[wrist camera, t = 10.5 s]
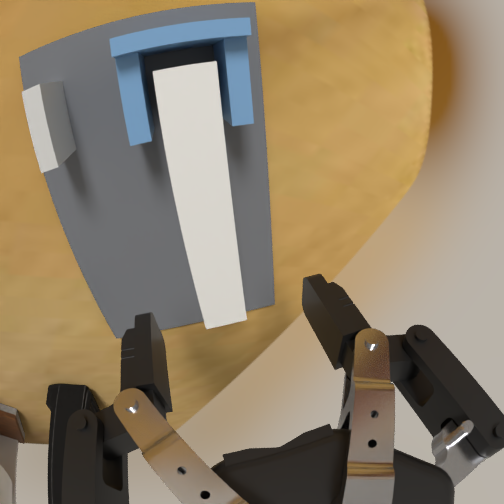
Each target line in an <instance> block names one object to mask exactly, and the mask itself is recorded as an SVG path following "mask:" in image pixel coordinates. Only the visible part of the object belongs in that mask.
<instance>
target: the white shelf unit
mask: <svg viewBox="0 0 504 504" xmlns="http://www.w3.org/2000/svg"><path fill="white" fill-rule="evenodd" d="M24 438H25V433H24V430H23V427H22V424H21V421H20V418H19V415H18V411H17V409H15V408H12V407H9V406H7V405H4V404H1V403H0V504H16V466H17V452H18V442H20V443H23V444H24Z"/></svg>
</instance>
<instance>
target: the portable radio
mask: <svg viewBox="0 0 504 504" xmlns="http://www.w3.org/2000/svg"><path fill="white" fill-rule="evenodd" d="M46 405H47V406H48V407H49V409H50V410H51V419H50V432H49V450H48V504H62V476H63V460H64V449H65V439H66V430H67V423H68V420H69V418H70V416H71V415H72V414H73V413H74V412H76V411H77V410H81V409H87V410H90V411H91V412H93V413H96V412H99V411H100V410H99V408H98V406H97V403H96V401H95V399H94V397H93V395H92V393H91V391H89V389H88V387H86V386H85V385H69V384H54V385H49V387H48V393H47V400H46Z"/></svg>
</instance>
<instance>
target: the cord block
mask: <svg viewBox="0 0 504 504" xmlns="http://www.w3.org/2000/svg"><path fill="white" fill-rule="evenodd" d="M153 78H154V85H155V92H156V99H157V105H158V112H159V118H160V124H161V130H162V136H163V141H164V147H165V153H166V158H167V163H168V169H169V174H170V179H171V184H172V189H173V194H174V199H175V204H176V208H177V213H178V218H179V222H180V227H181V231H182V235H183V240H184V244H185V248H186V253H187V257H188V261H189V265H190V269H191V273H192V277H193V281H194V285H195V289H196V293H197V297H198V301H199V304H200V308H201V312H202V316H203V319H204V323H205V327H206V329H210V328H214V327H219V326H223V325H228V324H232V323H236V322H240V321H244V320H247V317H246V309H245V302H244V294H243V286H242V278H241V270H240V262H239V254H238V246H237V238H236V230H235V221H234V213H233V205H232V196H231V188H230V179H229V170H228V162H227V153H226V144H225V135H224V126H223V117H222V107H221V98H220V88H219V79H218V69H217V61H213V62H205V63H198V64H191V65H184V66H178V67H173V68H167V69H162V70H157V71H153Z"/></svg>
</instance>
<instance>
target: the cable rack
mask: <svg viewBox="0 0 504 504" xmlns="http://www.w3.org/2000/svg"><path fill="white" fill-rule="evenodd" d="M19 60H20V68H21V75H22V82H23V88H24V91H23V92H22V96H23V102H24V107H25V112H26V116H27V121H28V125H29V130H30V134H31V138H32V142H33V146H34V149H35V153H36V157H37V160H38V164H39V167H40V170H41V173H43V172H44V176H45V179H46V182H47V185H48V188H49V191H50V194H51V197H52V200H53V203H54V205H55V208H56V211H57V214H58V216H59V219H60V222H61V224H62V227H63V229H64V232H65V234H66V237H67V239H68V242H69V244H70V246H71V249H72V251H73V253H74V256H75V258H76V260H77V263H78V265H79V267H80V269H81V271H82V273H83V276H84V278H85V280H86V282H87V284H88V286H89V288H90V290H91V292H92V294H93V296H94V298H95V300H96V302H97V304H98V306H99V308H100V310H101V312H102V313H103V315H104V317H105V319H106V321H107V323H108V325H109V326H110V328H111V330H112V332H113V333H114V335H115V337H116V338H122V337H123V336H124V334H125V332H126V330H127V329H131V328H134V326H135V315H139V314H144V313H149V312H152V313H153V315H154V317H155V320H156V322H157V324H158V327H159V329H160V330H164V329H169V328H174V327H179V326H183V325H188V324H193V323H197V322H202V321H204V319H203V316H202V312H201V308H200V304H199V301H198V297H197V293H196V289H195V285H194V281H193V277H192V273H191V269H190V265H189V261H188V257H187V253H186V248H185V244H184V240H183V235H182V231H181V227H180V222H179V218H178V213H177V208H176V204H175V199H174V194H173V189H172V184H171V179H170V174H169V169H168V163H167V158H166V153H165V147H164V141H163V136H162V130H161V124H160V118H159V112H158V105H157V99H156V92H155V85H154V78H153V71H157V70H162V69H167V68H173V67H178V66H184V65H191V64H198V63H205V62H213V61H217V69H218V79H219V88H220V98H221V107H222V117H223V126H224V135H225V144H226V153H227V162H228V170H229V179H230V188H231V196H232V205H233V213H234V221H235V230H236V238H237V246H238V254H239V262H240V270H241V278H242V286H243V294H244V302H245V309H246V311H250V310H254V309H258V308H262V307H266V306H270V305H274V304H275V299H274V275H273V254H272V233H271V214H270V196H269V179H268V163H267V147H266V132H265V118H264V104H263V90H262V77H261V65H260V52H259V41H258V29H257V18H256V7H255V2H249V3H225V4H212V5H201V6H192V7H185V8H178V9H171V10H165V11H159V12H154V13H149V14H144V15H139V16H135V17H131V18H126V19H122V20H118V21H115V22H111V23H107V24H104V25H100V26H97V27H94V28H91V29H88V30H85V31H82V32H79V33H76V34H73V35H70V36H67V37H65V38H62V39H59V40H57V41H54V42H52V43H49V44H47V45H45V46H42V47H40V48H38V49H35V50H33V51H31V52H29V53H27V54H25V55H23V56H20V57H19Z"/></svg>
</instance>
